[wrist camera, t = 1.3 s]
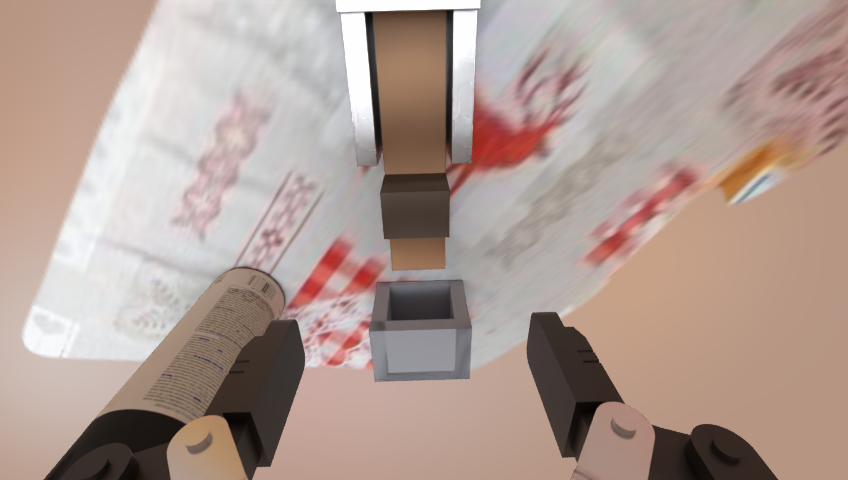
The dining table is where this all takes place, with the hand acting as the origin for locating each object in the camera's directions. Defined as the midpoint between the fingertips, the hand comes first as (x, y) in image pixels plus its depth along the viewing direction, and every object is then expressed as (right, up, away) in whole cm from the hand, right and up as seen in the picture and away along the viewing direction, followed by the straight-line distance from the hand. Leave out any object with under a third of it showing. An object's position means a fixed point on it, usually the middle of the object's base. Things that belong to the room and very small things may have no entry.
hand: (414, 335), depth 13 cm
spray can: (-16, -2, +22) cm, 27 cm away
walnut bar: (0, +12, +14) cm, 18 cm away
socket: (0, -3, +23) cm, 23 cm away
